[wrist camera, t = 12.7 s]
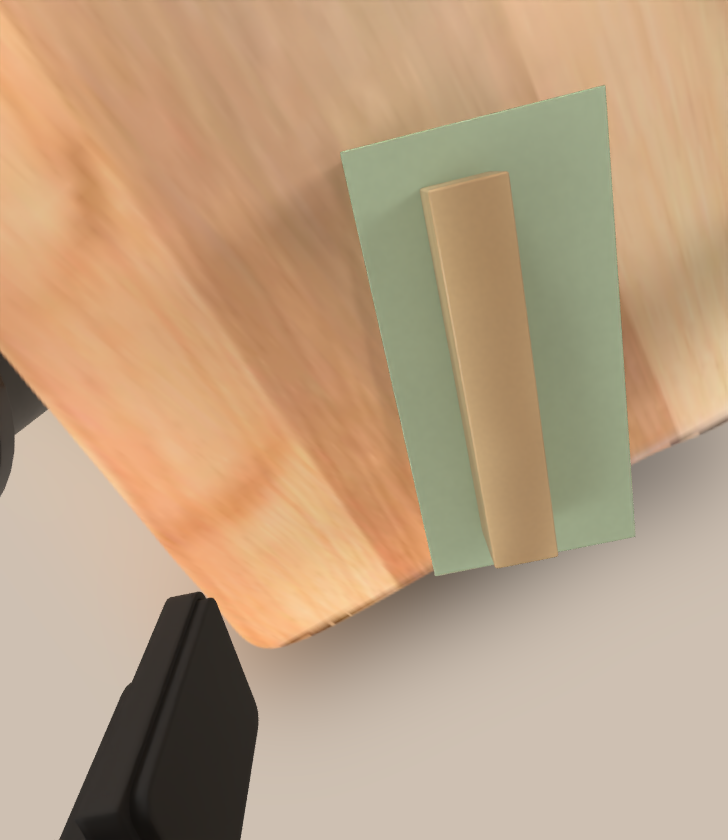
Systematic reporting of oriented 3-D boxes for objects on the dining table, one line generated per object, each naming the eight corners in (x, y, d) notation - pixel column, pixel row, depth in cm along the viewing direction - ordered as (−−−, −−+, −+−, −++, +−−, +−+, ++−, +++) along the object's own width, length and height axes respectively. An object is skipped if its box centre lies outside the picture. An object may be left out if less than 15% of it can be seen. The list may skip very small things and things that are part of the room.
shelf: (413, 467, 41) (435, 576, 30) (344, 158, 34) (339, 152, 23) (558, 437, 40) (636, 537, 29) (521, 114, 33) (605, 84, 22)
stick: (482, 531, 29) (495, 569, 26) (418, 188, 23) (427, 190, 20) (539, 520, 29) (559, 557, 26) (490, 170, 23) (509, 170, 20)
